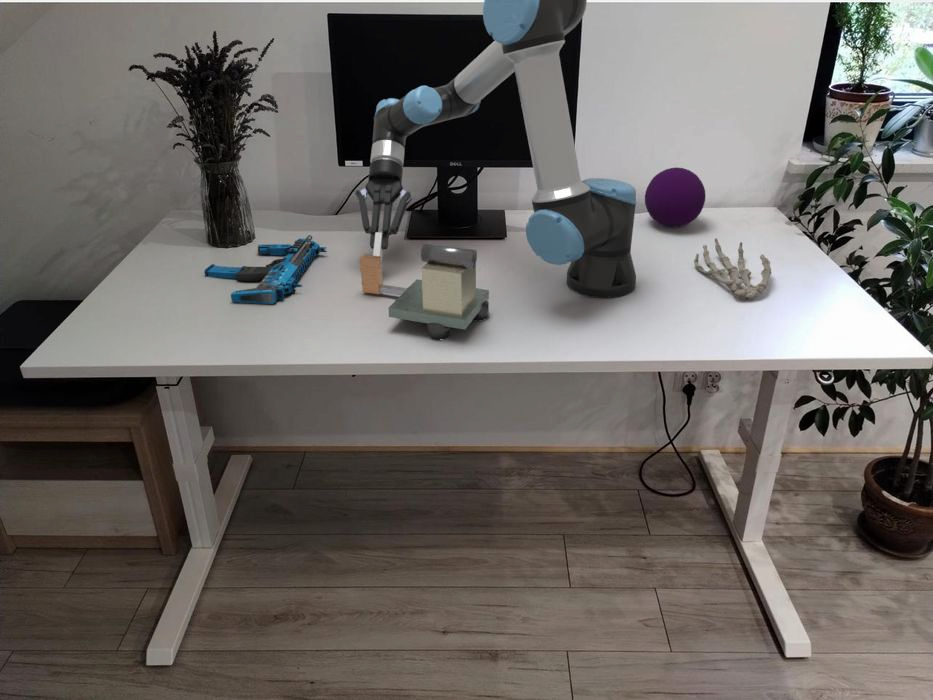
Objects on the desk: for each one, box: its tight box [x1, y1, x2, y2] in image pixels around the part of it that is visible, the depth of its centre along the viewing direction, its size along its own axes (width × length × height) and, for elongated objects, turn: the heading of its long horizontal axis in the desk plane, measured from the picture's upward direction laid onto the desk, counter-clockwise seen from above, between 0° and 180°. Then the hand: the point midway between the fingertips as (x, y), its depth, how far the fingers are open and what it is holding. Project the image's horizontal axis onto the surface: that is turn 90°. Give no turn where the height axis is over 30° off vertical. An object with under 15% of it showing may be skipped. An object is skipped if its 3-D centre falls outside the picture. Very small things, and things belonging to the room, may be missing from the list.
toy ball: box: [644, 167, 706, 228], centre depth 201 cm, size 15×15×15 cm
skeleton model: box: [693, 237, 772, 301], centre depth 176 cm, size 24×13×5 cm, turn 15°
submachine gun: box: [203, 234, 328, 305], centre depth 182 cm, size 34×4×25 cm
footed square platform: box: [387, 242, 490, 341], centre depth 155 cm, size 17×15×17 cm
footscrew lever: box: [359, 254, 410, 296], centre depth 167 cm, size 15×5×8 cm, turn 70°
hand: (377, 262), depth 174 cm, fingers closed
